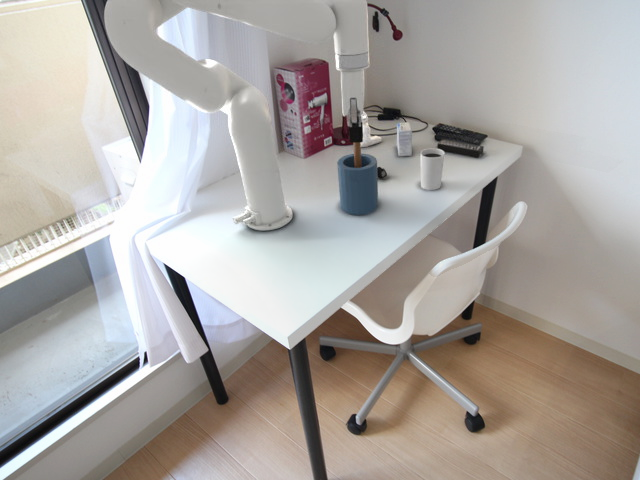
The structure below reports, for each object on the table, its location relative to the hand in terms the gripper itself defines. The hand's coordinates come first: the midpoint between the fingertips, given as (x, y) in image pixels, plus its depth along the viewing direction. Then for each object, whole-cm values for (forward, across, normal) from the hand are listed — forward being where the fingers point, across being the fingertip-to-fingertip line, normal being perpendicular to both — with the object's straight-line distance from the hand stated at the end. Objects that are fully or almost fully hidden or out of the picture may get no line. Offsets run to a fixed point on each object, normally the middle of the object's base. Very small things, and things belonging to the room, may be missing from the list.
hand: (356, 139), depth 107 cm
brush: (+15, 0, 0) cm, 15 cm away
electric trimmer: (+18, -20, 0) cm, 26 cm away
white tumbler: (+19, -11, +20) cm, 30 cm away
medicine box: (+19, -35, +14) cm, 42 cm away
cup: (+19, 0, 0) cm, 19 cm away
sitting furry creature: (+19, -43, 0) cm, 47 cm away
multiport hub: (+19, -34, +32) cm, 51 cm away
